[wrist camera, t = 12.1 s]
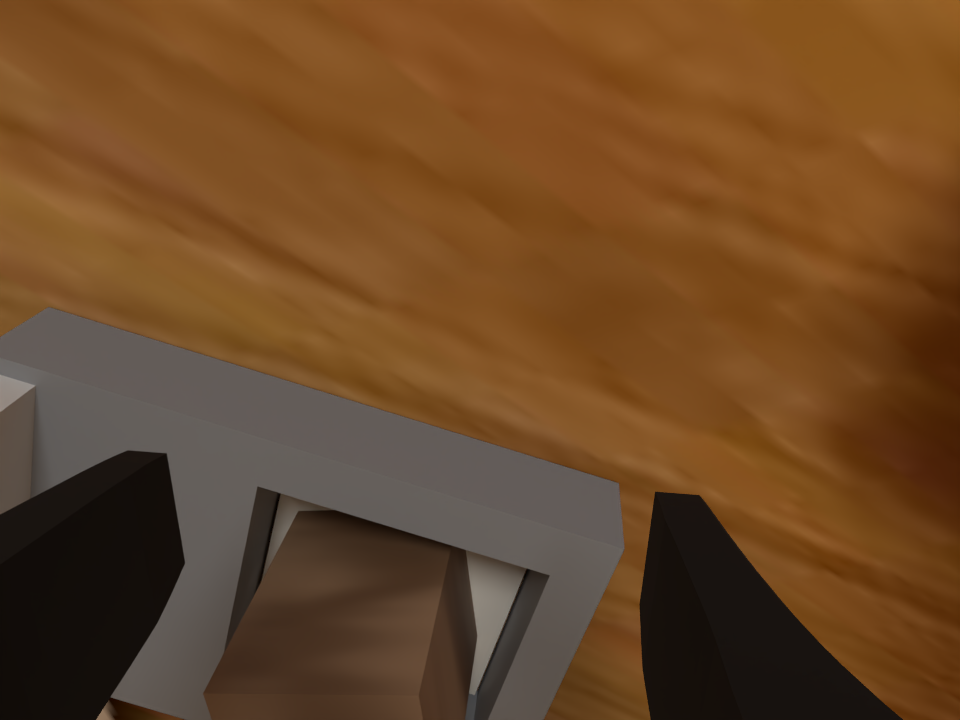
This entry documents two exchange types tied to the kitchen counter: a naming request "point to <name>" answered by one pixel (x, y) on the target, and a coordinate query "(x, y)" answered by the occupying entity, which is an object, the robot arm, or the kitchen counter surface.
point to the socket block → (304, 500)
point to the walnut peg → (352, 629)
